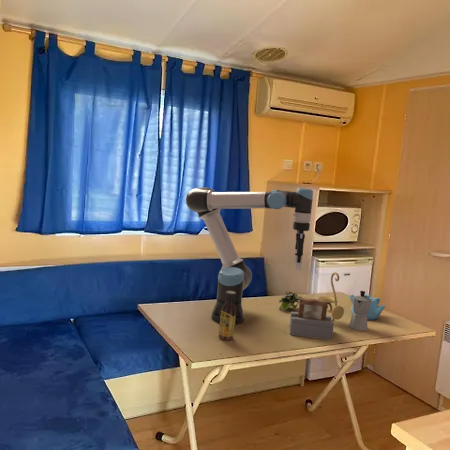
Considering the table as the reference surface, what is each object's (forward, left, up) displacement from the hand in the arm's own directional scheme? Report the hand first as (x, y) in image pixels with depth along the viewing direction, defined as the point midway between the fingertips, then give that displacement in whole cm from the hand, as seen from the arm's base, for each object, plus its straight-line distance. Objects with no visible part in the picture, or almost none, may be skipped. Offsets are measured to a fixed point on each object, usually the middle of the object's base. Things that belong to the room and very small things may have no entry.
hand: (297, 266), depth 215 cm
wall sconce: (+18, +5, -27) cm, 33 cm away
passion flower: (0, +17, -27) cm, 32 cm away
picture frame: (+8, -13, -22) cm, 27 cm away
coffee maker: (+32, +2, -27) cm, 42 cm away
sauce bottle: (-28, -32, -27) cm, 50 cm away
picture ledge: (+8, -13, -27) cm, 31 cm away
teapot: (+38, +22, -27) cm, 52 cm away
